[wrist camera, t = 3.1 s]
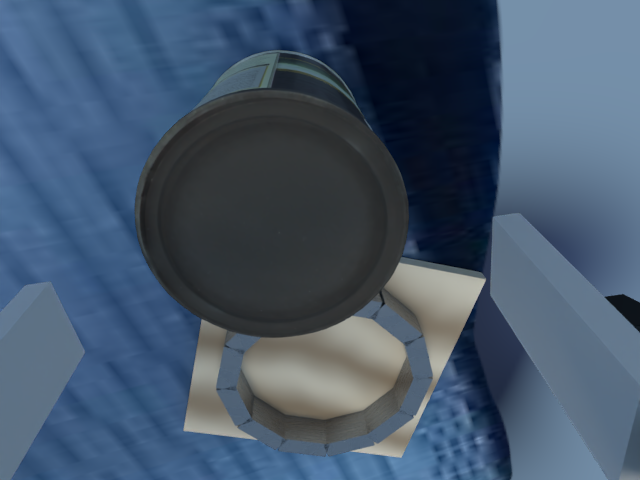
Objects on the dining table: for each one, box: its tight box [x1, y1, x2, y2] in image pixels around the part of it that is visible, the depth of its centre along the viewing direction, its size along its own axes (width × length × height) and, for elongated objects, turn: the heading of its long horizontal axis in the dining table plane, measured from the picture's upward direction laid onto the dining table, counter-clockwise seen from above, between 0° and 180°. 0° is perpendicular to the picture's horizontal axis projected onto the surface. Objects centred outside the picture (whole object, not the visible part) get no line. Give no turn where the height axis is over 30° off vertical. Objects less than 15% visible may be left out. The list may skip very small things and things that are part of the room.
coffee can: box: [135, 50, 409, 338], centre depth 24 cm, size 10×10×14 cm
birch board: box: [183, 257, 486, 457], centre depth 38 cm, size 20×20×1 cm
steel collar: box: [216, 288, 433, 457], centre depth 37 cm, size 16×16×2 cm
